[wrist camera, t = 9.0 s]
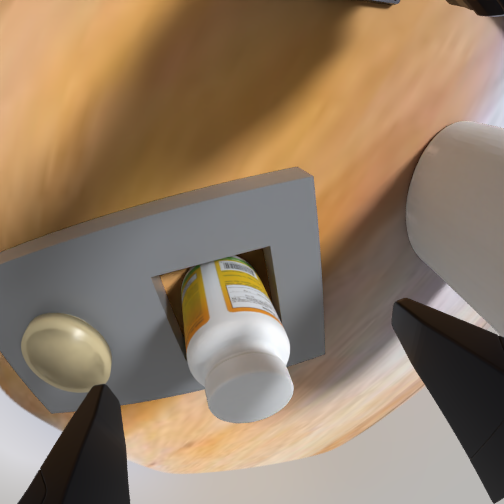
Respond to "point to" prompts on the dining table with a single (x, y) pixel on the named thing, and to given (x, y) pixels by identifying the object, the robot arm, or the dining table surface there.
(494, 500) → the robot arm
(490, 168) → the utensil holder
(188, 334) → the supplement bottle
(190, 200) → the plate
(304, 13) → the dining table surface
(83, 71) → the dining table surface
